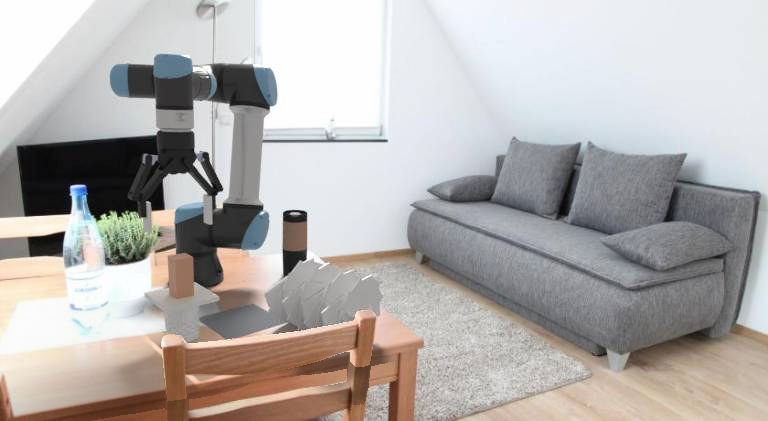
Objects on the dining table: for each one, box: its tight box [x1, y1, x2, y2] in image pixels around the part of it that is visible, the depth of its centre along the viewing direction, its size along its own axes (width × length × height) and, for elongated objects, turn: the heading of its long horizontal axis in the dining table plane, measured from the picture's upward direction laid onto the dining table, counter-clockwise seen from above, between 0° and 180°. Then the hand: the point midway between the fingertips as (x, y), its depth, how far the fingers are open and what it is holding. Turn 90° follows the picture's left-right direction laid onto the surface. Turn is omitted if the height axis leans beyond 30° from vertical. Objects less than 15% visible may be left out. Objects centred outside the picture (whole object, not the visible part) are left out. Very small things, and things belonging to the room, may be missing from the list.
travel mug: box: [281, 209, 308, 277], centre depth 174 cm, size 8×8×20 cm
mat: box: [200, 302, 285, 340], centre depth 138 cm, size 16×16×1 cm
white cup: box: [163, 305, 201, 343], centre depth 127 cm, size 8×8×10 cm
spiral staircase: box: [264, 257, 384, 332], centre depth 132 cm, size 18×18×25 cm
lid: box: [144, 253, 220, 314], centre depth 125 cm, size 12×12×10 cm
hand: (179, 227), depth 122 cm, fingers open, 13 cm apart
